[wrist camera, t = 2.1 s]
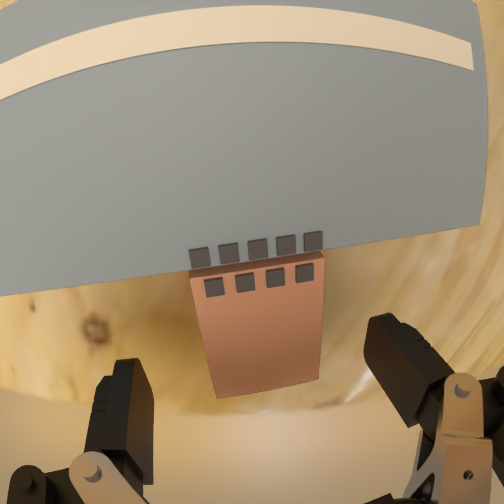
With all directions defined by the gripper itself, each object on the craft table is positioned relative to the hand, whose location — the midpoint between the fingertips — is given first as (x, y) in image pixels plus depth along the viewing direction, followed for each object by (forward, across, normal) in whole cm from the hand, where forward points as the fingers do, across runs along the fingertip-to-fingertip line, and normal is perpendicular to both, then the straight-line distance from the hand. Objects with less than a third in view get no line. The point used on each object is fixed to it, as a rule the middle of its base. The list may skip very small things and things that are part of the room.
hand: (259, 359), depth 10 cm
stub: (+7, 0, 0) cm, 7 cm away
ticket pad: (+7, 0, -8) cm, 11 cm away
